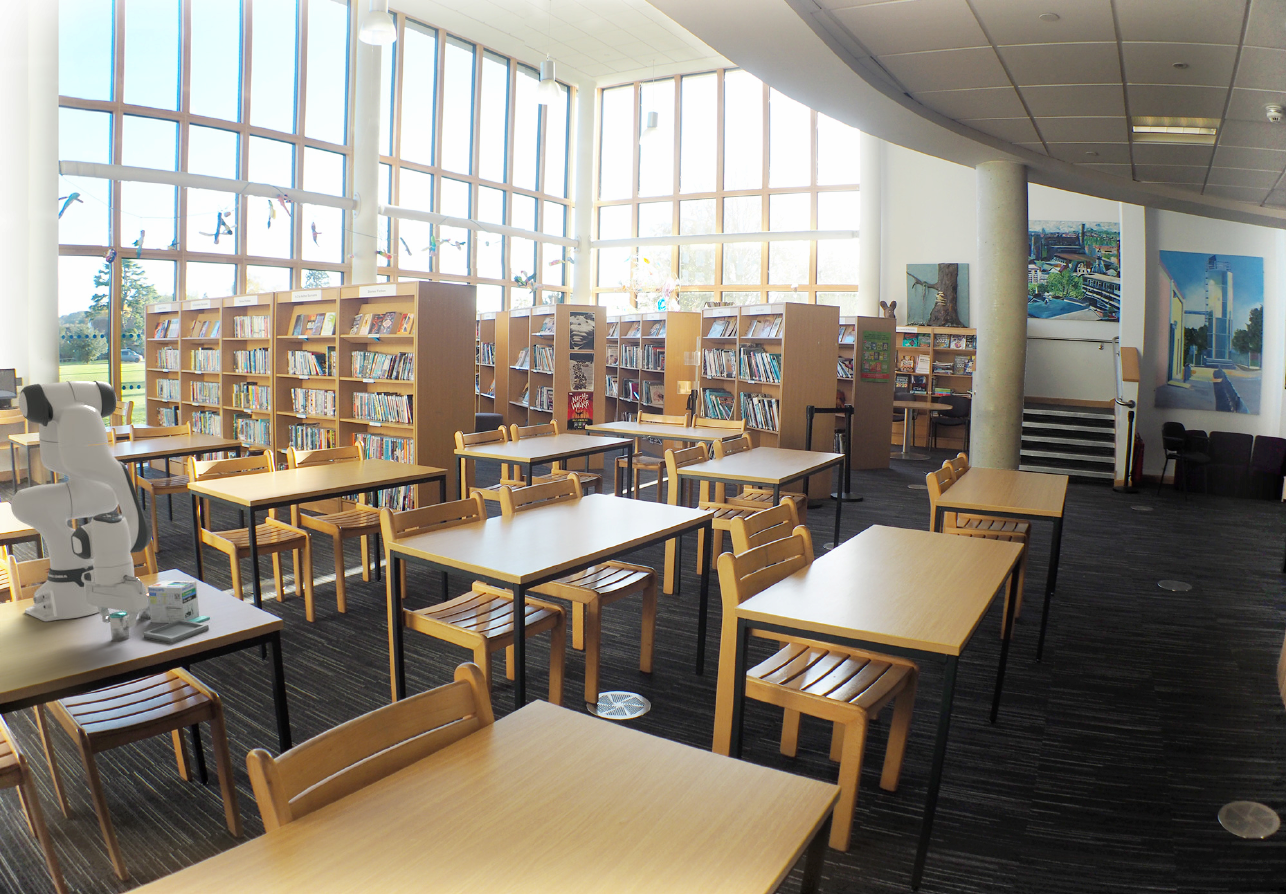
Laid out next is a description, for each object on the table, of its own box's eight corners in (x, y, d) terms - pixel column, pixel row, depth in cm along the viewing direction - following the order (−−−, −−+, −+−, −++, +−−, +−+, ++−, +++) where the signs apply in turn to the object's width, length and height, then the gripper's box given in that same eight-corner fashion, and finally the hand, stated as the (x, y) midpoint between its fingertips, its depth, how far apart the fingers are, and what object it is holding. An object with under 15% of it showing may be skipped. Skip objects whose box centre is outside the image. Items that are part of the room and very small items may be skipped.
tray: (143, 638, 212) (143, 632, 212) (180, 624, 223) (180, 619, 222) (172, 643, 208) (171, 638, 208) (208, 629, 218) (208, 624, 218)
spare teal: (108, 640, 211) (106, 615, 210) (122, 634, 215) (120, 610, 214) (118, 642, 210) (116, 616, 209) (133, 636, 213) (130, 612, 212)
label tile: (186, 623, 224) (186, 621, 224) (202, 617, 228) (202, 615, 228) (194, 624, 223) (194, 622, 223) (209, 618, 227) (209, 616, 227)
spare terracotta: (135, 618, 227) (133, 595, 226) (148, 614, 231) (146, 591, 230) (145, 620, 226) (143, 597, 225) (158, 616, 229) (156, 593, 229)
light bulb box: (200, 616, 230) (197, 580, 228) (184, 624, 223) (181, 587, 222) (166, 614, 231) (163, 579, 229) (149, 623, 224) (146, 586, 223)
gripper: (152, 574, 208) (157, 624, 210) (101, 567, 216) (106, 616, 218) (129, 580, 203) (134, 632, 204) (77, 573, 210) (82, 623, 212)
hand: (119, 624), depth 211 cm, fingers open, 8 cm apart
